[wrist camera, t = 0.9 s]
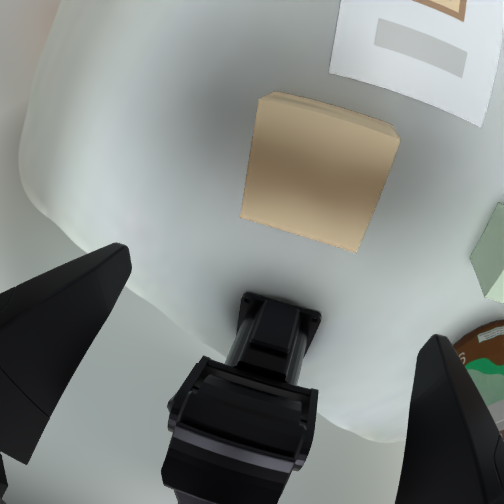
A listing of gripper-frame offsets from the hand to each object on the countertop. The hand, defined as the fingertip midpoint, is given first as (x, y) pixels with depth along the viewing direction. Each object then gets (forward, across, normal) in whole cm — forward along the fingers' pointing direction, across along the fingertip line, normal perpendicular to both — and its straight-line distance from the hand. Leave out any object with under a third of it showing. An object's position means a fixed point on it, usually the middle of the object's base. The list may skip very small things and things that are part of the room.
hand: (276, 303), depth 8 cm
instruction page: (+11, -4, -11) cm, 16 cm away
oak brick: (+12, 0, 0) cm, 12 cm away
